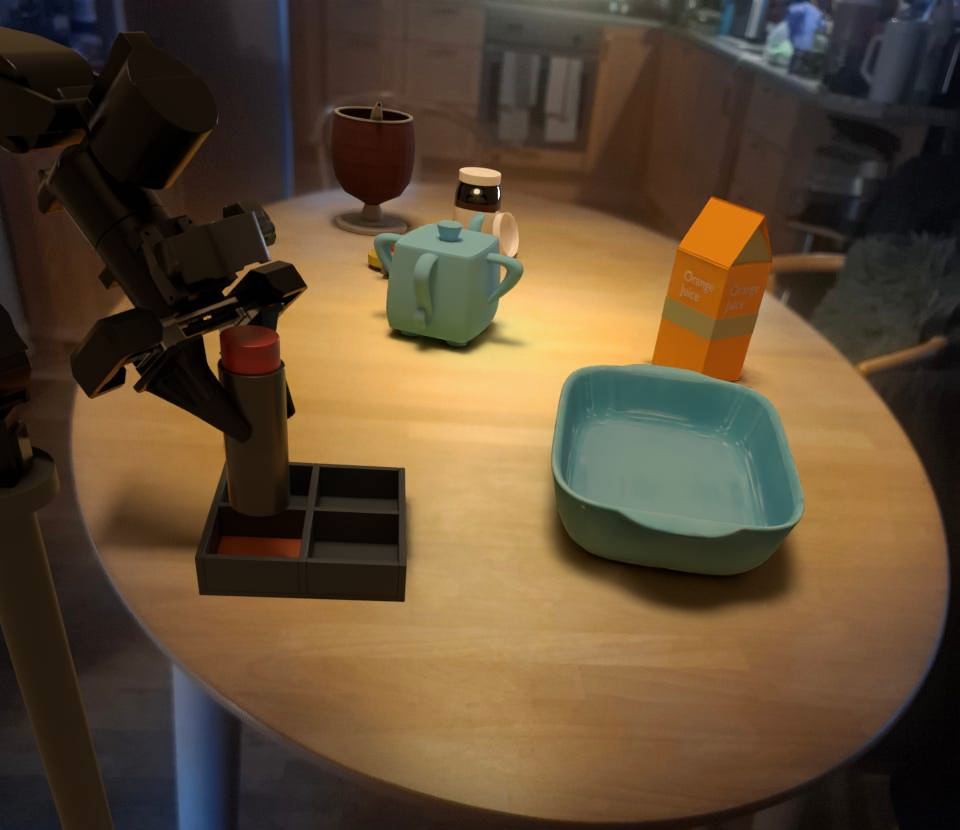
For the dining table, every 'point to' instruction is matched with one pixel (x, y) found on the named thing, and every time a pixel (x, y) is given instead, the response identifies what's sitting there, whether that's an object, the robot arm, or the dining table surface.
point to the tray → (312, 538)
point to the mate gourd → (372, 163)
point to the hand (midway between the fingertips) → (269, 428)
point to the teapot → (445, 279)
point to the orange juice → (715, 292)
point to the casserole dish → (672, 469)
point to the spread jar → (485, 206)
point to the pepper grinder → (256, 420)
